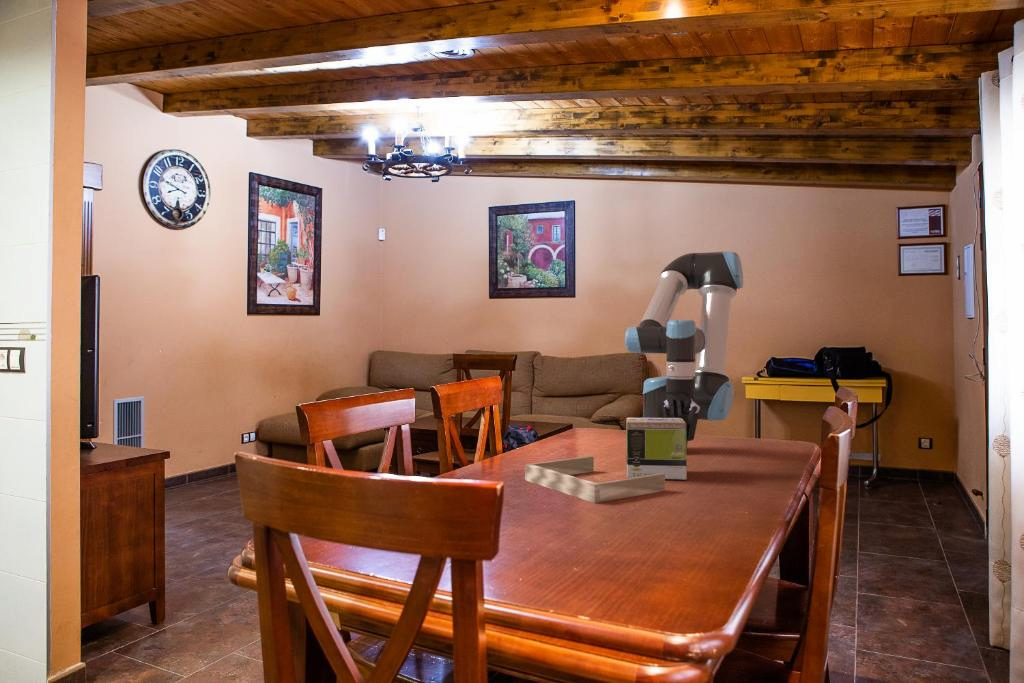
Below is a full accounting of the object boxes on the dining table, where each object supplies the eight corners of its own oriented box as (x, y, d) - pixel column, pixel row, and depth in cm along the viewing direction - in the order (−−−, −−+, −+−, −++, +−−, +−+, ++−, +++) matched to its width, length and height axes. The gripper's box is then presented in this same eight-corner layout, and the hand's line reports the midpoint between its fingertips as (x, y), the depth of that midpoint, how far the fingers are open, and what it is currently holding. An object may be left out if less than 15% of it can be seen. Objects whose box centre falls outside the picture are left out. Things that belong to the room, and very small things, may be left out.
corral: (524, 480, 180) (525, 464, 179) (591, 470, 191) (591, 455, 191) (594, 503, 157) (594, 484, 157) (664, 490, 169) (664, 473, 169)
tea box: (683, 472, 189) (684, 417, 189) (686, 481, 179) (687, 422, 179) (625, 470, 191) (626, 415, 191) (626, 479, 182) (626, 420, 181)
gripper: (652, 376, 193) (652, 463, 194) (689, 379, 183) (688, 471, 183) (672, 375, 198) (671, 460, 198) (709, 378, 187) (708, 468, 187)
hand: (679, 466), depth 191 cm, fingers closed
